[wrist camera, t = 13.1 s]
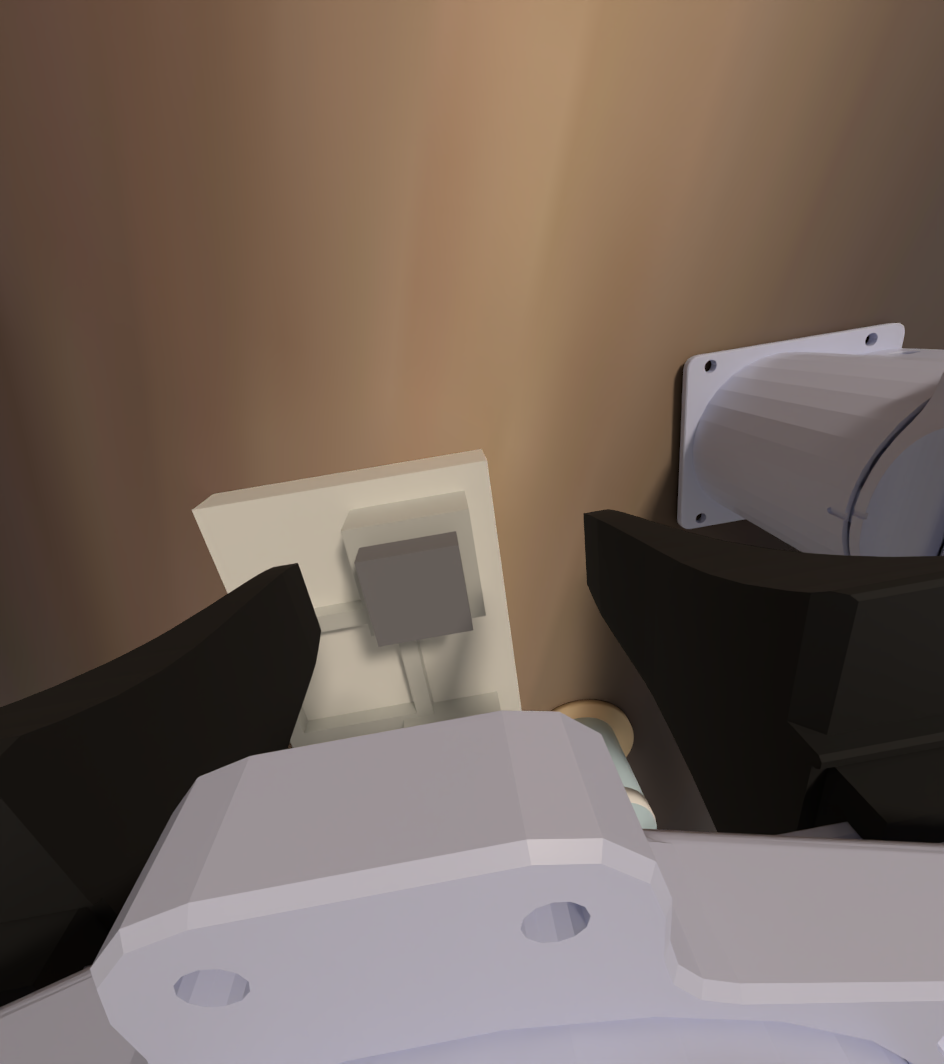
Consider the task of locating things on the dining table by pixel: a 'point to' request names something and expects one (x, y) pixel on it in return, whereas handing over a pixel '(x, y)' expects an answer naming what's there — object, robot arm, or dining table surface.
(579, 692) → the dining table surface
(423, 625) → the plunger
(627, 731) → the coaster
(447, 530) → the housing
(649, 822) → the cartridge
